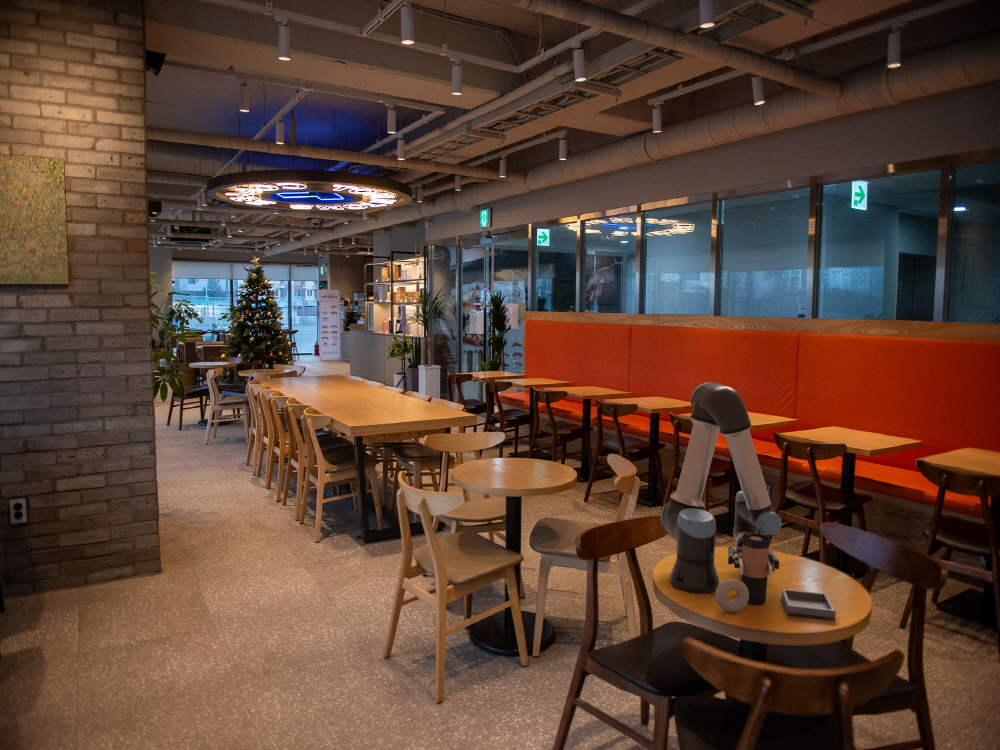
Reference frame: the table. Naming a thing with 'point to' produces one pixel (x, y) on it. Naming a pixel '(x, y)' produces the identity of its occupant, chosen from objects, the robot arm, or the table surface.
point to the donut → (725, 589)
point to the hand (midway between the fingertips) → (756, 571)
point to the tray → (808, 604)
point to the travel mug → (755, 567)
